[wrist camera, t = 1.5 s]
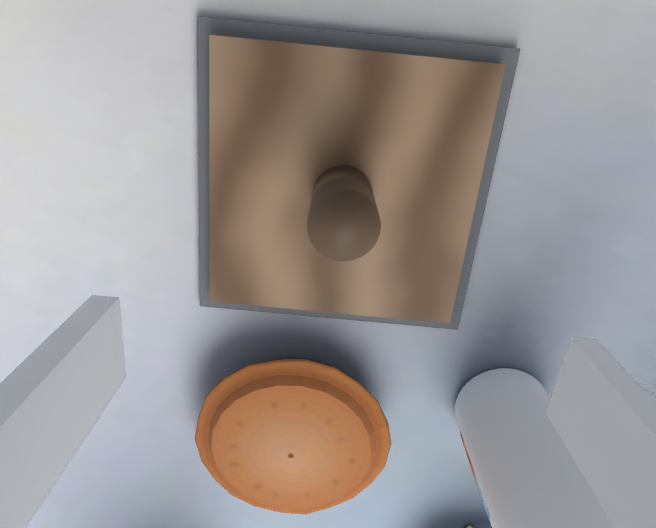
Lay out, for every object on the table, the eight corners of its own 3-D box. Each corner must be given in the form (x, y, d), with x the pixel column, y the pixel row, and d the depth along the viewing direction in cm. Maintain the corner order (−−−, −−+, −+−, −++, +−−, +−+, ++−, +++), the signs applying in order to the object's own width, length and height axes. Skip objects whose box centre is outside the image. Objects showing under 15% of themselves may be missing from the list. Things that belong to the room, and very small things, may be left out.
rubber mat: (516, 49, 30) (520, 48, 30) (455, 325, 38) (457, 329, 38) (199, 16, 30) (196, 16, 30) (201, 302, 38) (199, 305, 37)
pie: (171, 416, 42) (150, 459, 38) (284, 299, 38) (277, 332, 33) (304, 505, 46) (300, 554, 41) (422, 408, 41) (433, 452, 37)
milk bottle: (442, 379, 40) (530, 649, 22) (535, 353, 39) (713, 614, 20) (464, 448, 43) (560, 740, 24) (552, 425, 42) (723, 713, 23)
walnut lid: (500, 64, 30) (552, 64, 23) (447, 317, 37) (474, 379, 30) (213, 35, 30) (172, 25, 23) (212, 295, 37) (181, 353, 29)
